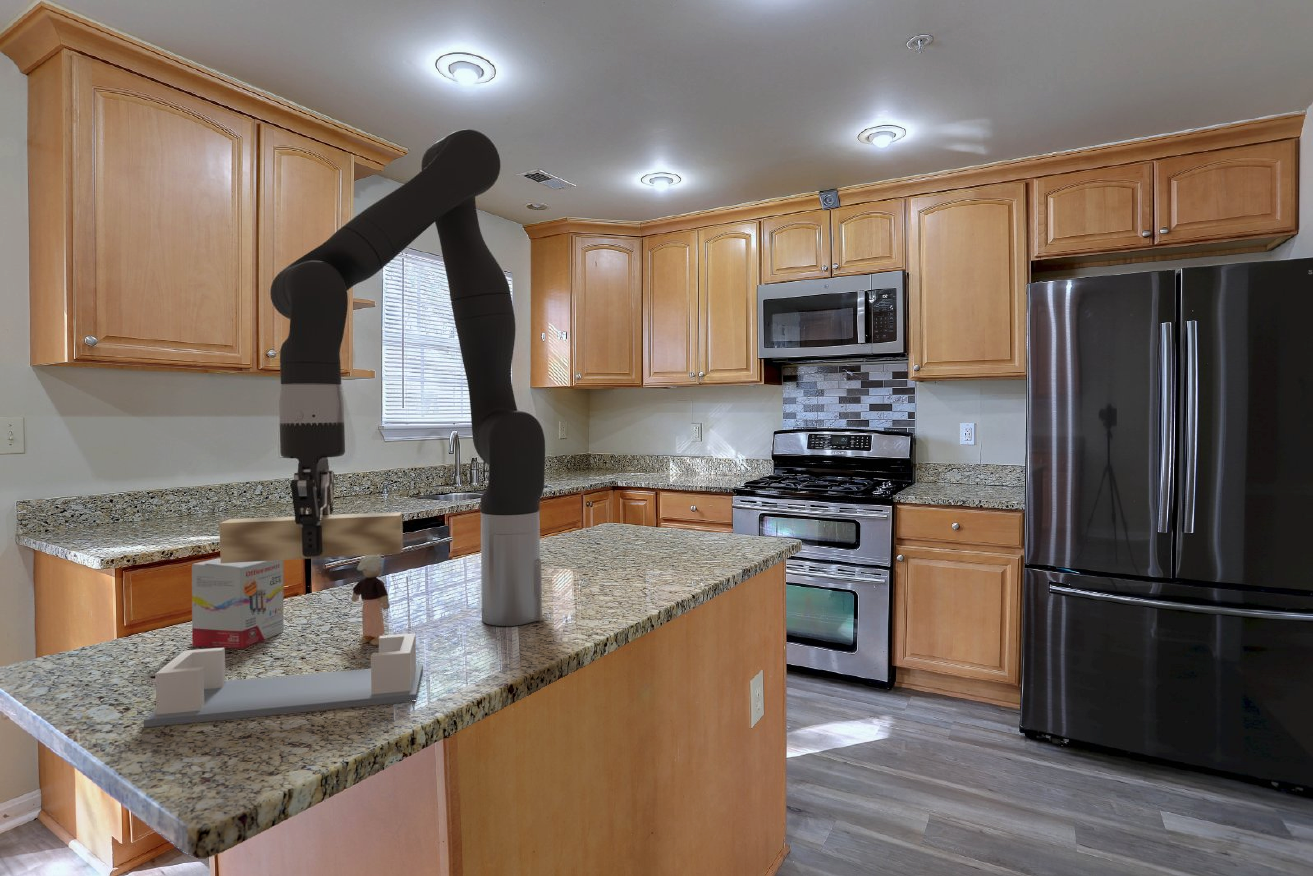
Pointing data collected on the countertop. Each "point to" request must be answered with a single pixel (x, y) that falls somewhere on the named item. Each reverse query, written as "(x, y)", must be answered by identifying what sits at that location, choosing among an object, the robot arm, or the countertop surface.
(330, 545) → the oak slat
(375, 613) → the grandmother figurine
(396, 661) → the end-cap board
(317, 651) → the countertop surface
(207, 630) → the ink box
